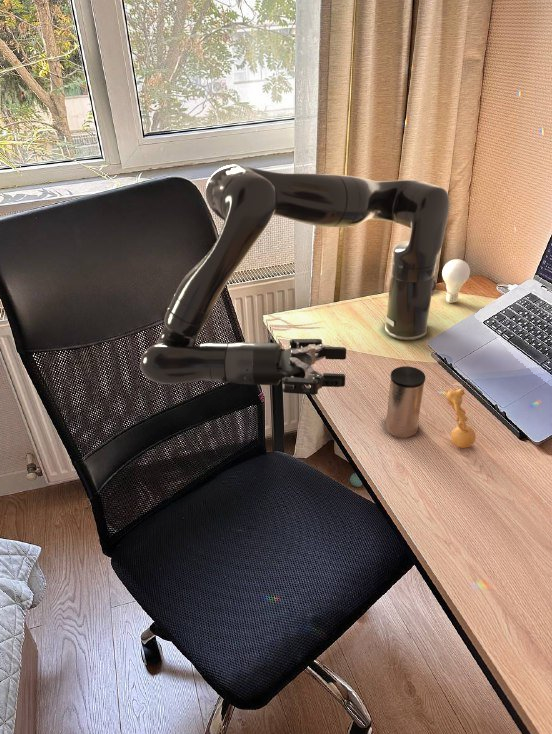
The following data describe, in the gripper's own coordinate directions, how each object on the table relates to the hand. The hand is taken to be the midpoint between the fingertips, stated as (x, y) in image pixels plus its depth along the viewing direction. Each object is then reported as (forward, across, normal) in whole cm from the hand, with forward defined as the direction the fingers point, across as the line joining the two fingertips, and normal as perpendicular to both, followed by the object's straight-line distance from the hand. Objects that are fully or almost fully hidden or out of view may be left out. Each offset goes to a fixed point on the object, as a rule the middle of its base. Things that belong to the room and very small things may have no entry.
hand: (345, 366), depth 102 cm
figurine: (+20, -5, +13) cm, 24 cm away
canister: (+11, -1, +12) cm, 16 cm away
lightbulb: (+26, +50, +13) cm, 58 cm away
